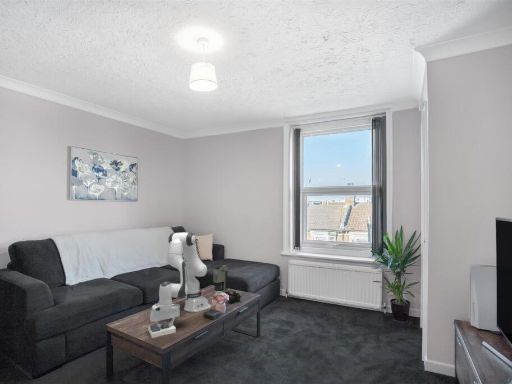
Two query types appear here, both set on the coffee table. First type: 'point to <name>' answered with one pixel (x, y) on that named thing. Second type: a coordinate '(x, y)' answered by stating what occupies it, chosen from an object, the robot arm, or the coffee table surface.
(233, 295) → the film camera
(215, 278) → the device
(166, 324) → the rocker switch
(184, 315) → the coffee table surface
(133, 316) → the coffee table surface
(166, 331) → the switch plate
